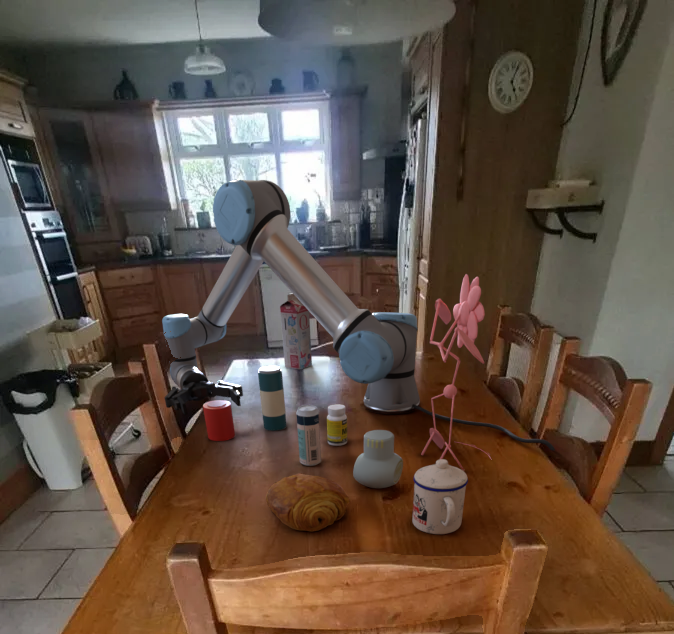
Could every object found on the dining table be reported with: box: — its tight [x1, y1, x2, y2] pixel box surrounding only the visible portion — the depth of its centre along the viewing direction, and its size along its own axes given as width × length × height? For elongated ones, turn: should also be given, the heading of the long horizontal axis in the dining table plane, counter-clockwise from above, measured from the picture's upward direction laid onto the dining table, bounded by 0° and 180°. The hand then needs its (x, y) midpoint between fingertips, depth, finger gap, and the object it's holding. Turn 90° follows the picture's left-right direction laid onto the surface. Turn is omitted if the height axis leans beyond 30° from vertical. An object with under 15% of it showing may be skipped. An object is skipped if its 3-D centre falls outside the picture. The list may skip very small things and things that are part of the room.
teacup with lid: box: [411, 458, 469, 535], centre depth 93 cm, size 12×9×12 cm
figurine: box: [420, 273, 492, 472], centre depth 109 cm, size 15×26×35 cm, turn 9°
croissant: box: [265, 472, 351, 532], centre depth 99 cm, size 14×16×8 cm
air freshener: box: [352, 429, 404, 489], centre depth 108 cm, size 11×8×10 cm
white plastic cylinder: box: [295, 404, 322, 467], centre depth 117 cm, size 5×5×12 cm
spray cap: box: [202, 399, 236, 442], centre depth 133 cm, size 7×7×8 cm
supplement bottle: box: [326, 403, 348, 447], centre depth 127 cm, size 5×5×8 cm
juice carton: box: [279, 293, 313, 370], centre depth 181 cm, size 7×7×22 cm
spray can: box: [257, 365, 288, 432], centre depth 135 cm, size 6×6×14 cm
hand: (212, 404), depth 136 cm, fingers open, 13 cm apart
